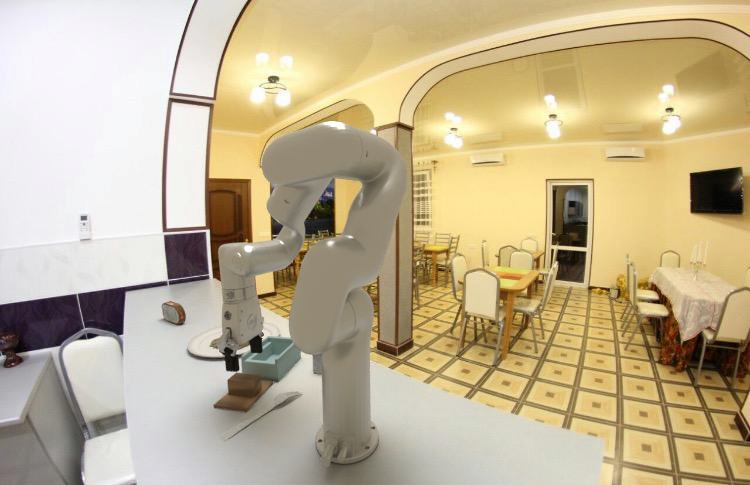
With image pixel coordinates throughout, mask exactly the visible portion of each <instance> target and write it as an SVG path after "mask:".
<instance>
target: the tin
mask: <svg viewBox="0 0 750 485" xmlns="http://www.w3.org/2000/svg"><path fill="white" fill-rule="evenodd" d="M161 311H162V312H161V313H162V316H163V318H164V320H165V321H167V322H168V323H172V324H174V325H181V324H184V323H185V322H186V321H187V320H186V319H187V314H186V310H185V308H184V307H183V305H181V304H180V303H177V302H174V301H173V300H169V301H166V302H163V303H162V304H161Z"/></svg>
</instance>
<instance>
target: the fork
mask: <svg viewBox="0 0 750 485" xmlns="http://www.w3.org/2000/svg"><path fill="white" fill-rule="evenodd" d="M300 395H301V396H302V395H303V393H301V392H300V391H293V390H292V391H284V392H280V394H278V395H277V396H276V397H275V398H274V400H273V404H272V405H271V406H270V407H268V408H267V409H265V410H264V411H262V412H260V413H258V414H256V415H254V416H253V417H251V418H249V419H247V420H244V421H243V422H240V423H238V424H236V425H235V426H233V427H231V428H228V429H227V430H226V431H224V432H223V433H221V434H220V436H219V439H220V440H222V441H223V442H226V441H228V440H229V438H230V439H232V437H234V436H235V435H237V434H238V433H239V432H240V431H242V430H243V429H244V428H247V426H249V425H250V424H252V423H253V422H255V421H256V420H258V419H259V418H261V417H262V416H264V415H267V413H269V412H270V411H271V410H272V409H274V408H275V407H276V406H278V405H280V404H282V403H283V402H284V401H285V400H287V399H288V398H291V397H295V396H300Z"/></svg>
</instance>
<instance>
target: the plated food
mask: <svg viewBox="0 0 750 485" xmlns="http://www.w3.org/2000/svg"><path fill="white" fill-rule="evenodd" d="M263 329H264V330H267V331H268V332H270V335H271V336H277V337H280V335H281V330H280V328H279V327H278V326H277V325H275V324H274V323H270V322H266V321H264V323H263ZM262 333H263V332H262ZM221 335H222V325H220V326H216V327H212V328H210V329H207V330H205V331H202V332H200V333H198V334H197V335H195V336H194V337H192V338H191V339H190V340H189V342H188V343H187V351H188V352H189V353H191V355H194V356H198V357H203V358H225V356H223V355H222V353H220V352H219V349H218V347H217V345H216V342H217V341H218V339H219V338H220V337H221ZM263 336H264V333H263ZM263 336H262V337H263ZM262 337H260V338H262ZM262 339H263V338H262ZM232 348H233V345H230V349H231V350H232ZM249 350H250V340H249V341H248V342H246V343H245V344H243V345H239V346H238V349H237V352H236V354H238V356H241V355H243V354H245V353H246V352H247V351H249Z"/></svg>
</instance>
